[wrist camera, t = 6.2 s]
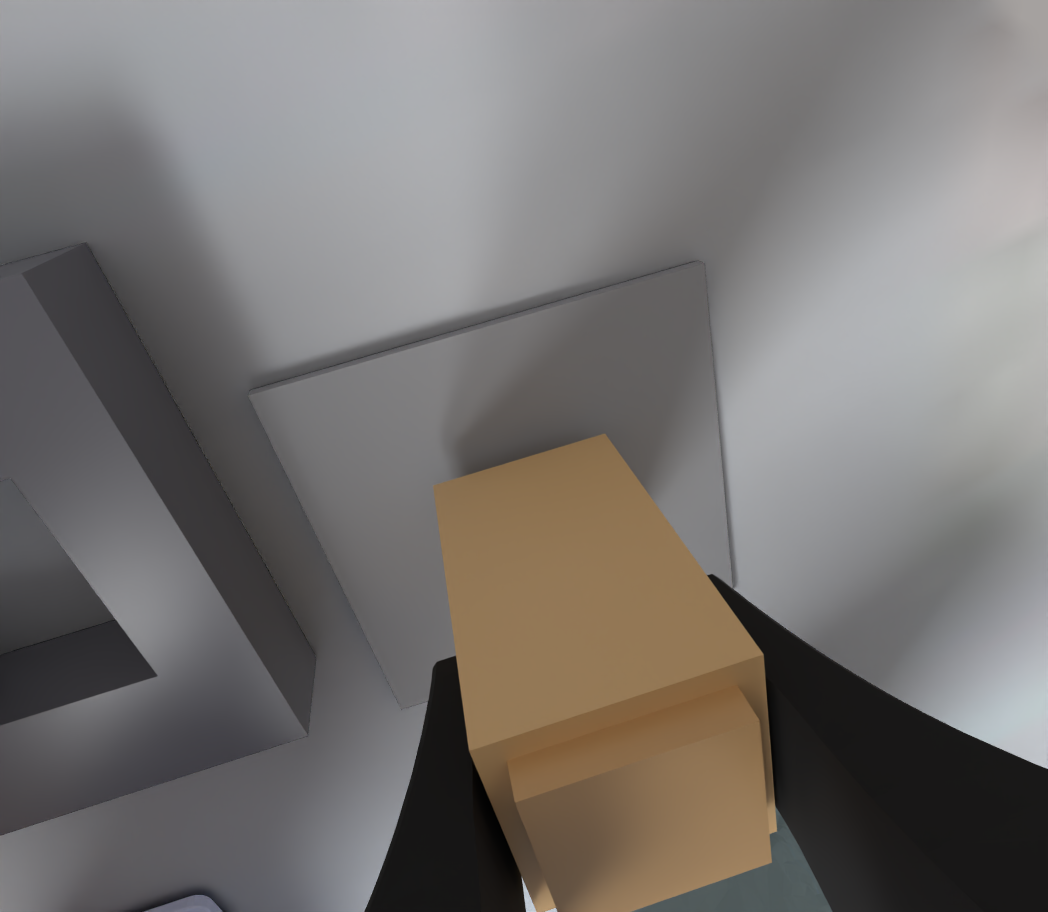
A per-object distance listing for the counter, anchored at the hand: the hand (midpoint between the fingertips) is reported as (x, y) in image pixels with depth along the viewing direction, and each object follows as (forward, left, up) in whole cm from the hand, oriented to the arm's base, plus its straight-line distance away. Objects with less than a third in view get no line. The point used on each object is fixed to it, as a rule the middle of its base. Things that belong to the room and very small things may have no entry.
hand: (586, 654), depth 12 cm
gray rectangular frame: (+3, +11, -5) cm, 12 cm away
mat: (0, 0, -5) cm, 5 cm away
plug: (0, 0, -4) cm, 4 cm away
